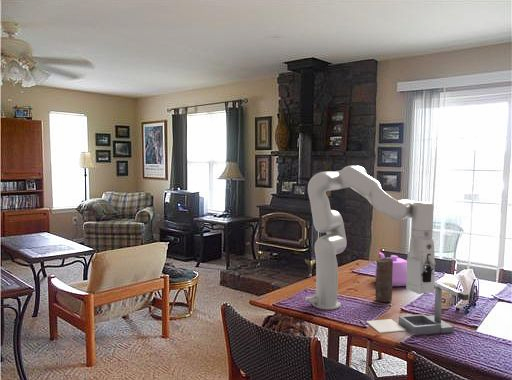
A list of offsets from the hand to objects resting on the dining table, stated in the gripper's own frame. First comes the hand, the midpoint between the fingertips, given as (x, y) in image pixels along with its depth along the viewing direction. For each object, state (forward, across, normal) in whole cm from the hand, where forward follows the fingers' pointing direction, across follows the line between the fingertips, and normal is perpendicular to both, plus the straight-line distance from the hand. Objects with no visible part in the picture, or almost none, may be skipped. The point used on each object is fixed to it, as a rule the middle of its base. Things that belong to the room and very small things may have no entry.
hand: (419, 278), depth 157 cm
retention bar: (+4, -7, -8) cm, 11 cm away
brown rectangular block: (+20, +31, -2) cm, 37 cm away
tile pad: (+20, +4, +12) cm, 23 cm away
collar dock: (+19, 0, -3) cm, 20 cm away
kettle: (+20, +56, -21) cm, 63 cm away
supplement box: (+5, 0, 0) cm, 5 cm away
